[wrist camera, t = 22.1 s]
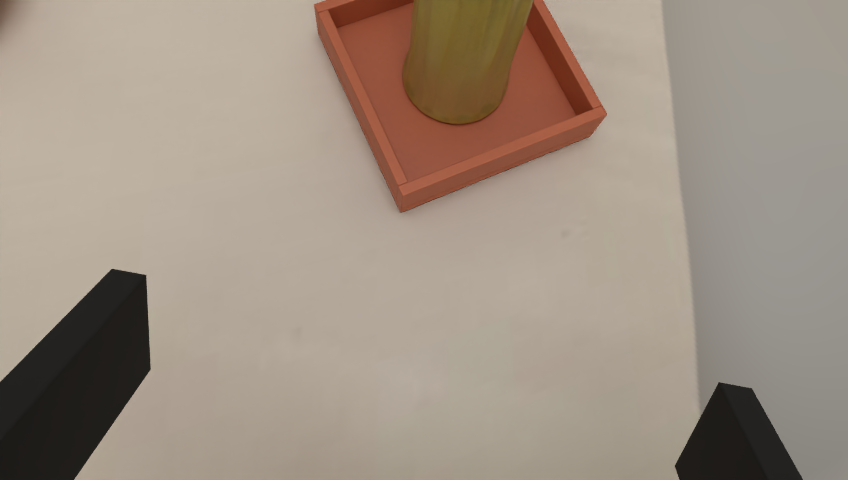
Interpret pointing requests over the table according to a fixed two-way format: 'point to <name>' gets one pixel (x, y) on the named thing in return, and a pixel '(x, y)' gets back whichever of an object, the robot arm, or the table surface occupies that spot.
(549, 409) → the table surface
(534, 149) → the terracotta tray
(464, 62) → the vase
